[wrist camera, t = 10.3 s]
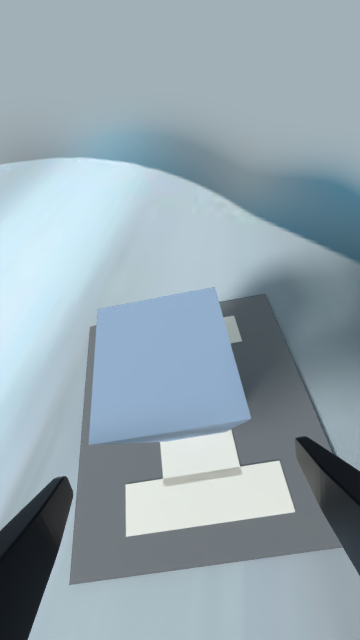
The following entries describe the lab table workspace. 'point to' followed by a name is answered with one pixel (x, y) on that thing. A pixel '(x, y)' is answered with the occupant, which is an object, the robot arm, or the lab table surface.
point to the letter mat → (206, 475)
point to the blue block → (164, 371)
